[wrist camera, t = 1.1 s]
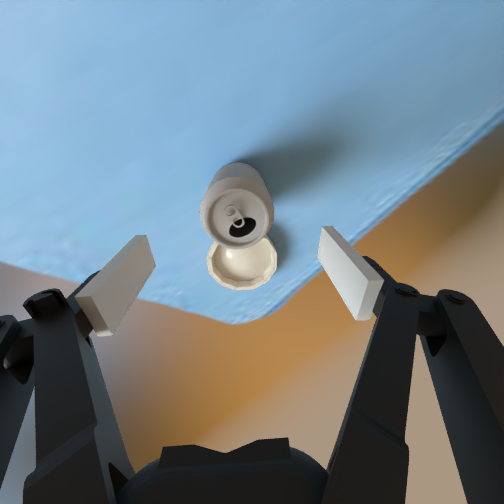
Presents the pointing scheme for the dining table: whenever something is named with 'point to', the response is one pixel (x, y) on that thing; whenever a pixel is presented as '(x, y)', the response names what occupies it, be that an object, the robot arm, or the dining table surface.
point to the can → (237, 207)
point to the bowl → (242, 264)
